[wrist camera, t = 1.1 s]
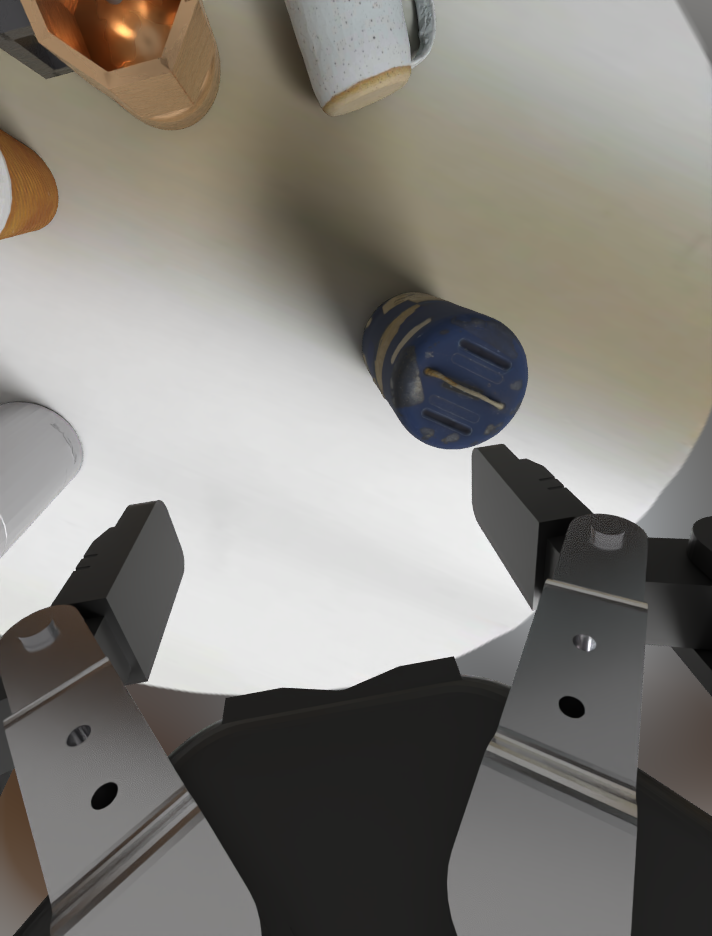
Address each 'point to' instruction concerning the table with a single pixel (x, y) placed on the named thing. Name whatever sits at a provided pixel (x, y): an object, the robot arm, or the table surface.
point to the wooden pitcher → (122, 52)
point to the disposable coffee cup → (24, 189)
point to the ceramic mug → (358, 48)
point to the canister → (445, 369)
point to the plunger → (114, 1)
